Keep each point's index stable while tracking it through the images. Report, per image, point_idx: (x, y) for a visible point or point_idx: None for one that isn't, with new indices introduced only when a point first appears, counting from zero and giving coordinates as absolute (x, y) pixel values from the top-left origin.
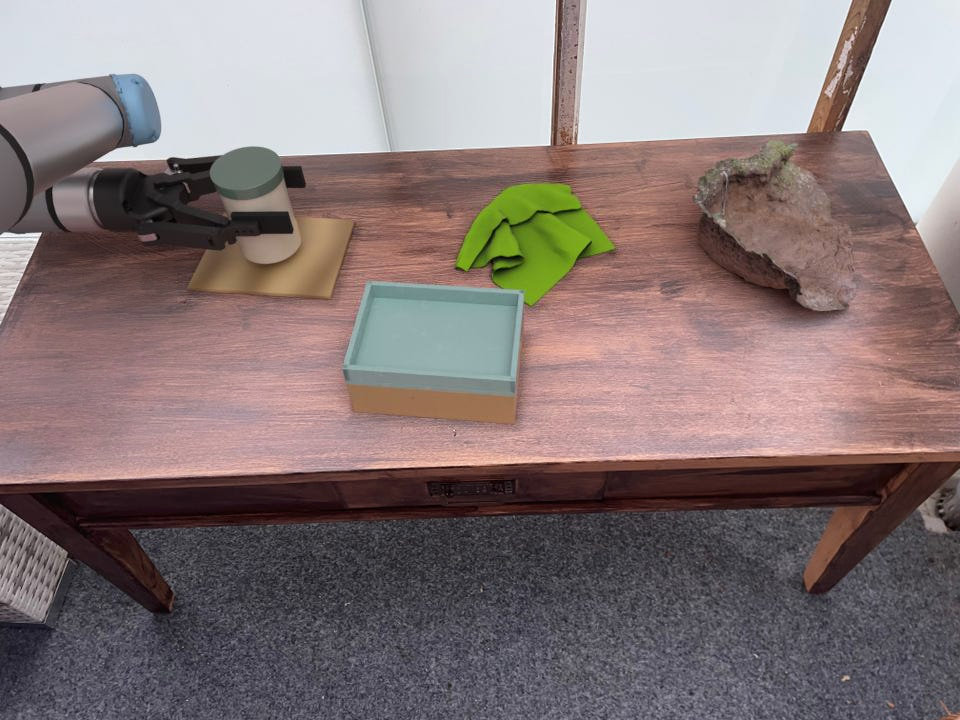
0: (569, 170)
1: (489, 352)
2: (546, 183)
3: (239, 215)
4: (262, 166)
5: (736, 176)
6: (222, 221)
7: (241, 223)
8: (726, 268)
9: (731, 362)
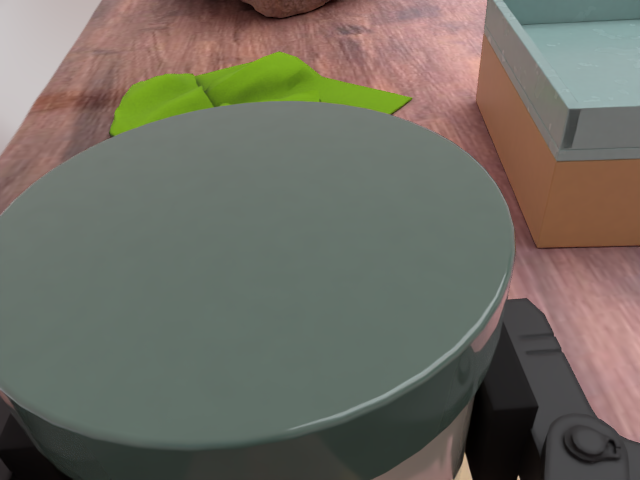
0: (86, 94)
1: (611, 33)
2: (125, 95)
3: (511, 359)
4: (246, 147)
5: None
6: (606, 442)
7: (536, 370)
8: (317, 6)
9: (453, 6)
